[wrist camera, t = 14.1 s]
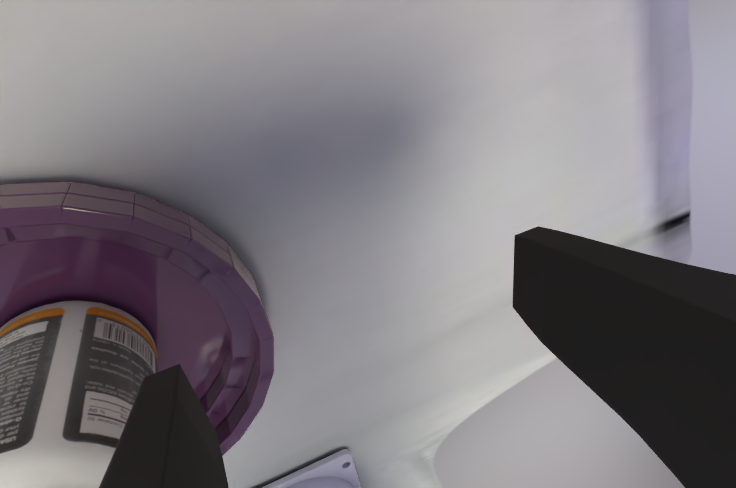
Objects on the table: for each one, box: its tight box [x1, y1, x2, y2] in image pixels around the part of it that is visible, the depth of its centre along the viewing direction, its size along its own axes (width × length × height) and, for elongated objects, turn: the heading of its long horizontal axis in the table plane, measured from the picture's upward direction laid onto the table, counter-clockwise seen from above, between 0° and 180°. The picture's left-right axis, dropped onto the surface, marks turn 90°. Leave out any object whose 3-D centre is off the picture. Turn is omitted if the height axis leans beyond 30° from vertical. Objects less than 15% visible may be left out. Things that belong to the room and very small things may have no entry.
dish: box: [0, 182, 274, 456], centre depth 17 cm, size 14×14×3 cm
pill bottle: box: [0, 301, 158, 488], centre depth 14 cm, size 6×6×10 cm
